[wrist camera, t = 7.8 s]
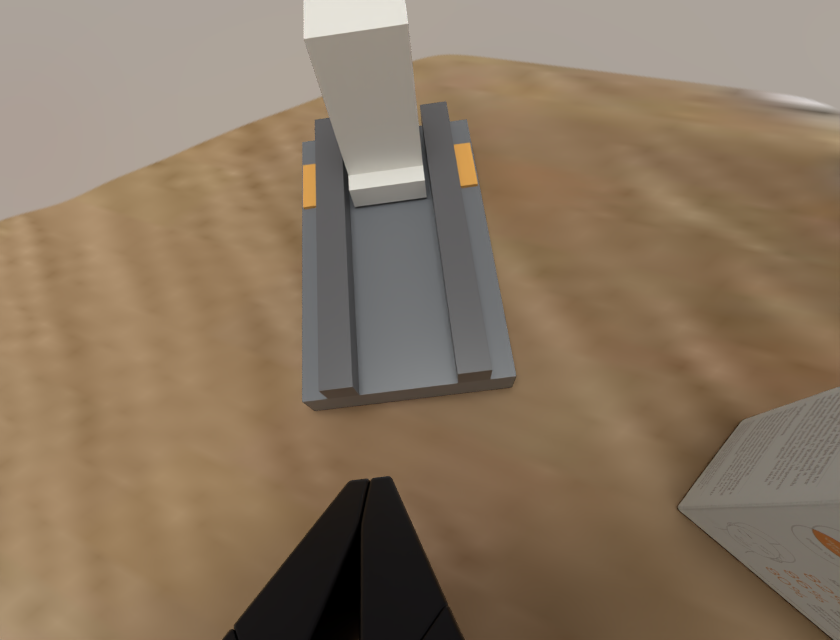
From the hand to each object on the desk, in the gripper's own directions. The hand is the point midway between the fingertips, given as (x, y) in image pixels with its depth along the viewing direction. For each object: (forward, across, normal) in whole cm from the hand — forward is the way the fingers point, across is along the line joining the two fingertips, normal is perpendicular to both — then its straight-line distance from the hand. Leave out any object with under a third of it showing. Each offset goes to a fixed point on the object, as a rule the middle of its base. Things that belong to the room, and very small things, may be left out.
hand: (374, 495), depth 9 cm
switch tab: (+20, 0, -5) cm, 21 cm away
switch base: (+18, 0, 0) cm, 18 cm away
